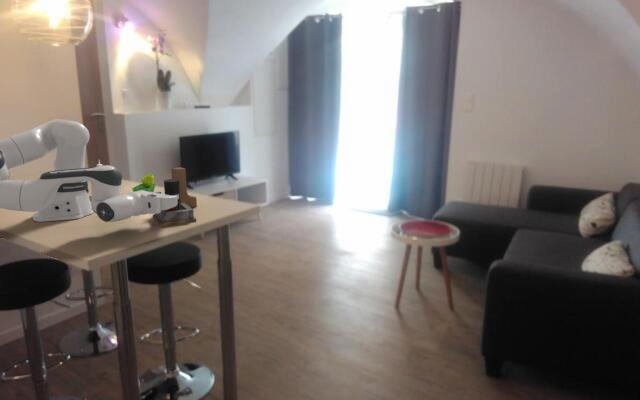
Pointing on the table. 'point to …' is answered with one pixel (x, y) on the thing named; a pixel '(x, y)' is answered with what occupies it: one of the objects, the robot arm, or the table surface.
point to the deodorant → (173, 192)
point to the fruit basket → (146, 184)
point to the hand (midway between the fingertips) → (168, 195)
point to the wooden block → (183, 187)
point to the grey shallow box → (175, 216)
